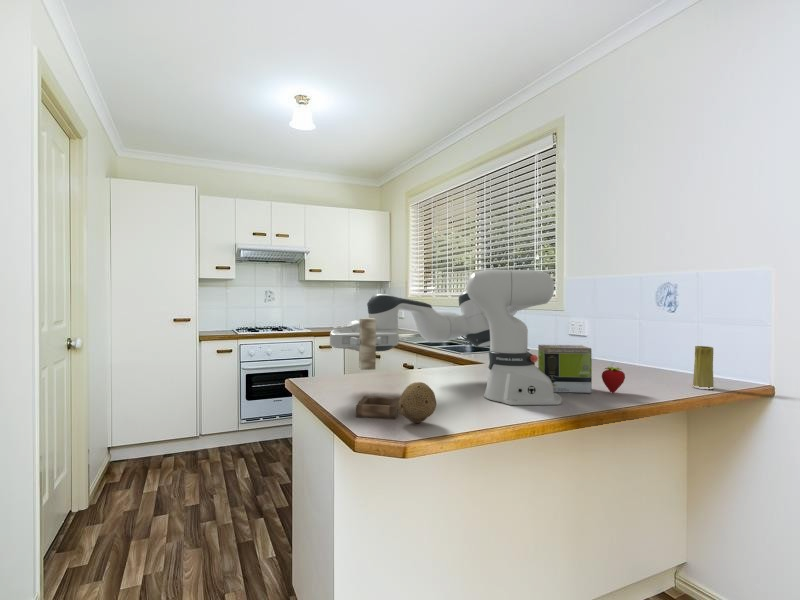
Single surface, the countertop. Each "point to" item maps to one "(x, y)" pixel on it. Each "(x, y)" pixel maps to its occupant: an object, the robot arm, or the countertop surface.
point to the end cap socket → (377, 407)
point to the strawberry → (613, 378)
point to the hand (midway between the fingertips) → (367, 342)
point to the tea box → (567, 367)
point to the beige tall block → (367, 344)
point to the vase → (703, 367)
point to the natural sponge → (417, 402)
